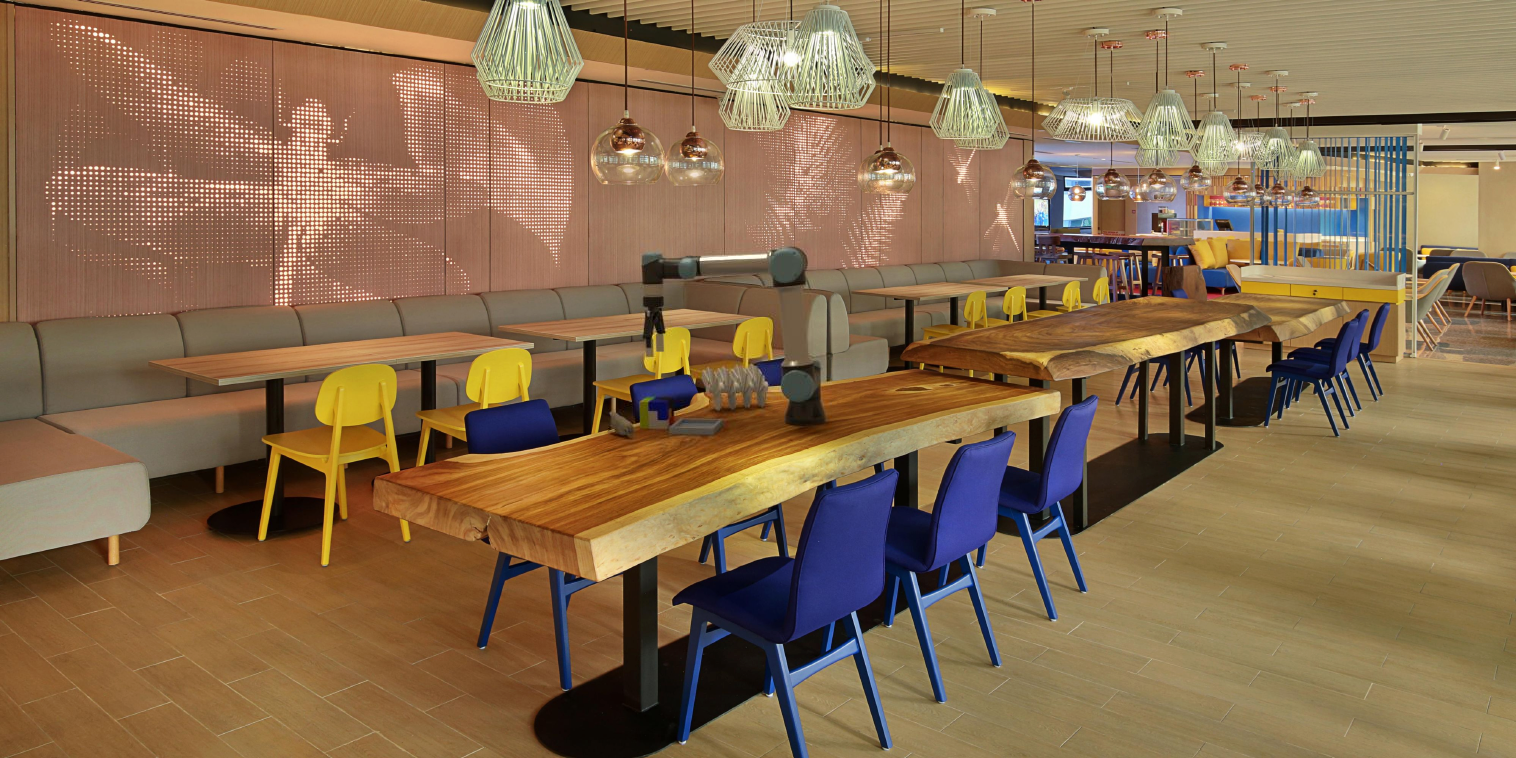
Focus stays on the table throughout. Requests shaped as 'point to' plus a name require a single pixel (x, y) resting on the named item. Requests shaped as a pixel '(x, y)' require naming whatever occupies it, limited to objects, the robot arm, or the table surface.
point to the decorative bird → (621, 425)
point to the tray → (696, 426)
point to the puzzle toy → (656, 412)
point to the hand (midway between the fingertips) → (654, 354)
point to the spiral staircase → (735, 385)
